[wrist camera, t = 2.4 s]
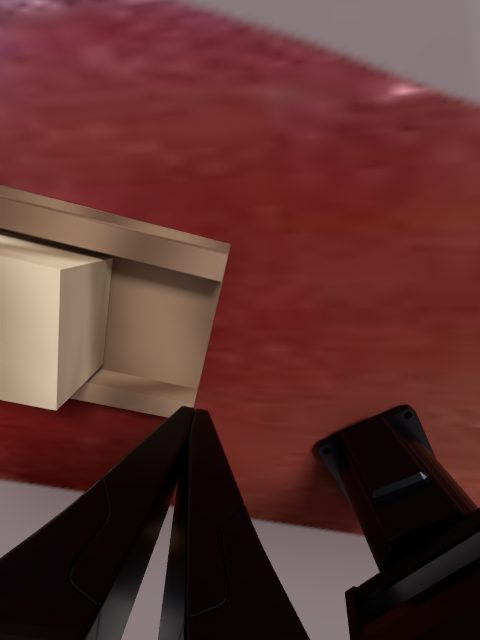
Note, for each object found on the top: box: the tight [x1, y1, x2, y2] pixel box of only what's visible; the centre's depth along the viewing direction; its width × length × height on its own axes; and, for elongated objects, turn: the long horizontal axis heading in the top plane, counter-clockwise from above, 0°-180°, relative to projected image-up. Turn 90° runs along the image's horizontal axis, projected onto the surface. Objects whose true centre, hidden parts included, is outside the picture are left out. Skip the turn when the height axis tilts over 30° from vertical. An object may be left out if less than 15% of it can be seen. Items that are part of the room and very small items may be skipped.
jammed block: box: [0, 231, 113, 410], centre depth 12 cm, size 6×6×4 cm
